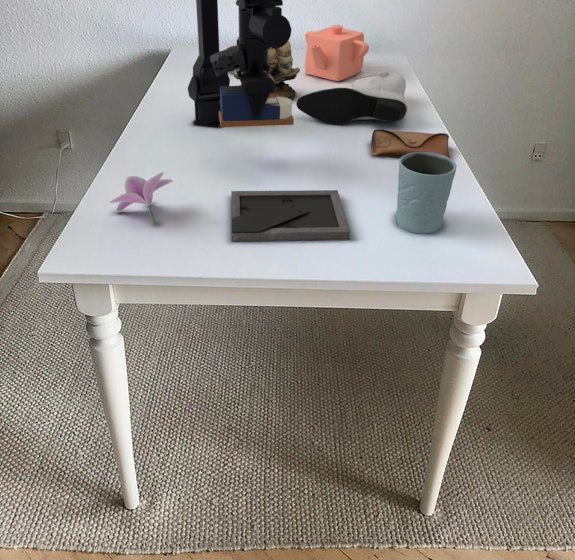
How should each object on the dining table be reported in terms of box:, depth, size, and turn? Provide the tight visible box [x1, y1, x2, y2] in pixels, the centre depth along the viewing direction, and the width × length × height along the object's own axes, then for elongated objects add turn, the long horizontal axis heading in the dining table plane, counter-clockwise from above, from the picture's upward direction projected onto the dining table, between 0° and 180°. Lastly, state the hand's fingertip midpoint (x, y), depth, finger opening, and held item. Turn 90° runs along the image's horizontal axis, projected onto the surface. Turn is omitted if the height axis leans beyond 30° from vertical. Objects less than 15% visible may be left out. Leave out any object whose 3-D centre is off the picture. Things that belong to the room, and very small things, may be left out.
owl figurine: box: [233, 40, 301, 100], centre depth 166 cm, size 18×12×17 cm, turn 92°
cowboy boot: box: [295, 72, 409, 126], centre depth 162 cm, size 10×28×25 cm
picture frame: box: [230, 189, 351, 242], centre depth 116 cm, size 16×2×21 cm
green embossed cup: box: [395, 152, 458, 235], centre depth 113 cm, size 10×10×12 cm
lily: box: [109, 171, 174, 225], centre depth 113 cm, size 12×12×10 cm
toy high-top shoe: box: [219, 85, 295, 128], centre depth 127 cm, size 15×6×7 cm, turn 99°
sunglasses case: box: [370, 128, 452, 159], centre depth 142 cm, size 18×7×7 cm
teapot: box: [304, 24, 370, 82], centre depth 184 cm, size 20×22×14 cm
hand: (253, 113), depth 128 cm, fingers closed on toy high-top shoe, 5 cm apart
